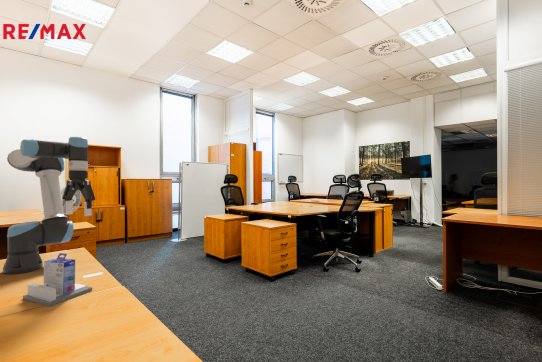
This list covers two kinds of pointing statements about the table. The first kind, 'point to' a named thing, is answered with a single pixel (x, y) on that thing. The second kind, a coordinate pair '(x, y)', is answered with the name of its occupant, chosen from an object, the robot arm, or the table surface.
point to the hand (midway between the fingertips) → (78, 215)
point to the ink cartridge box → (60, 274)
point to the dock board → (60, 298)
